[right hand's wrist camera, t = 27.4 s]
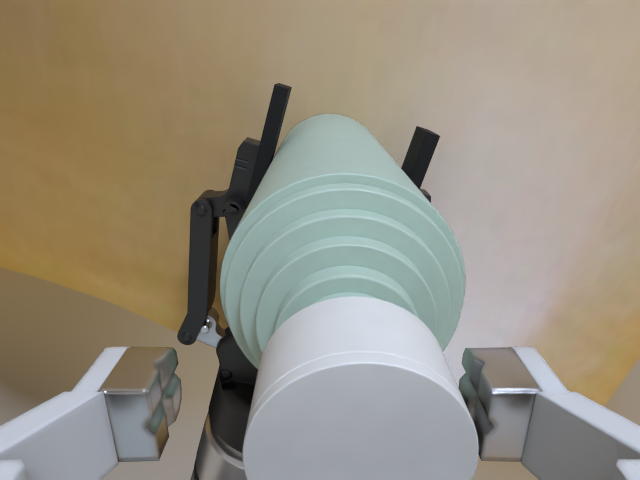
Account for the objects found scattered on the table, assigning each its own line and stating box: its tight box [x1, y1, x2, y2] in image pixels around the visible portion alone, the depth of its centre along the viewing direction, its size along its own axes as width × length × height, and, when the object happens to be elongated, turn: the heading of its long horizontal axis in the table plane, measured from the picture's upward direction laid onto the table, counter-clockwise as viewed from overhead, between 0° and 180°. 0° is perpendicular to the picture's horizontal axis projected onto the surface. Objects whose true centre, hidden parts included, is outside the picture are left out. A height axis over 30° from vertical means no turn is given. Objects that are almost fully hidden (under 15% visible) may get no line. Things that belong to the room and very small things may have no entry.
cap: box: [243, 296, 479, 480], centre depth 9 cm, size 4×4×2 cm
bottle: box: [220, 114, 466, 369], centre depth 20 cm, size 8×8×25 cm
